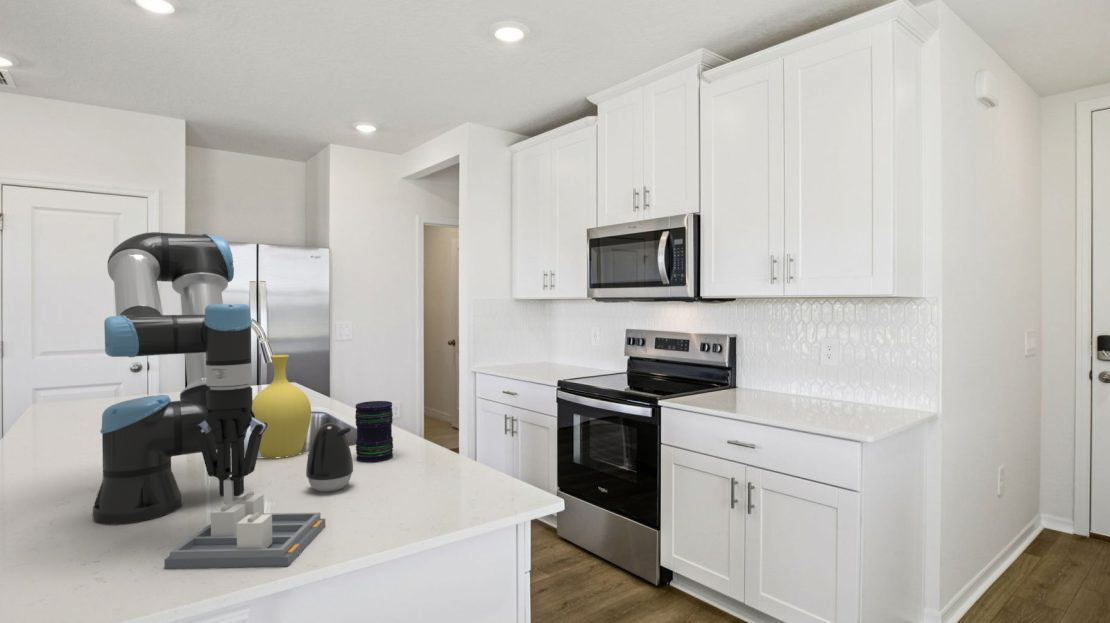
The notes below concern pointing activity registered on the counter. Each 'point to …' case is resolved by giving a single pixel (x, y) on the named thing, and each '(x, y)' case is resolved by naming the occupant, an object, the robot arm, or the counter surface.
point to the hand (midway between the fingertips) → (232, 512)
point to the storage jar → (374, 431)
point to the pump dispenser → (329, 459)
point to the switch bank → (222, 550)
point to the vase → (282, 414)
